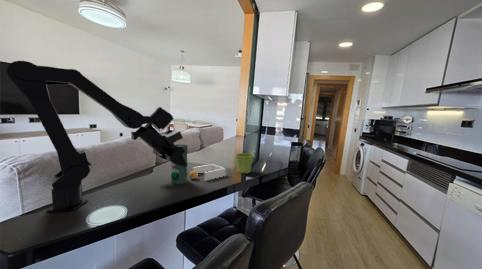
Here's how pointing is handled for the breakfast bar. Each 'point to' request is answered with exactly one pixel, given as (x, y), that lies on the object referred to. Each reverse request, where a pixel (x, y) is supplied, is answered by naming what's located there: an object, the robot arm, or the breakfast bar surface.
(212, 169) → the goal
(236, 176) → the breakfast bar surface
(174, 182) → the can
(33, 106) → the robot arm
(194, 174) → the ball
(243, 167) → the plant pot
